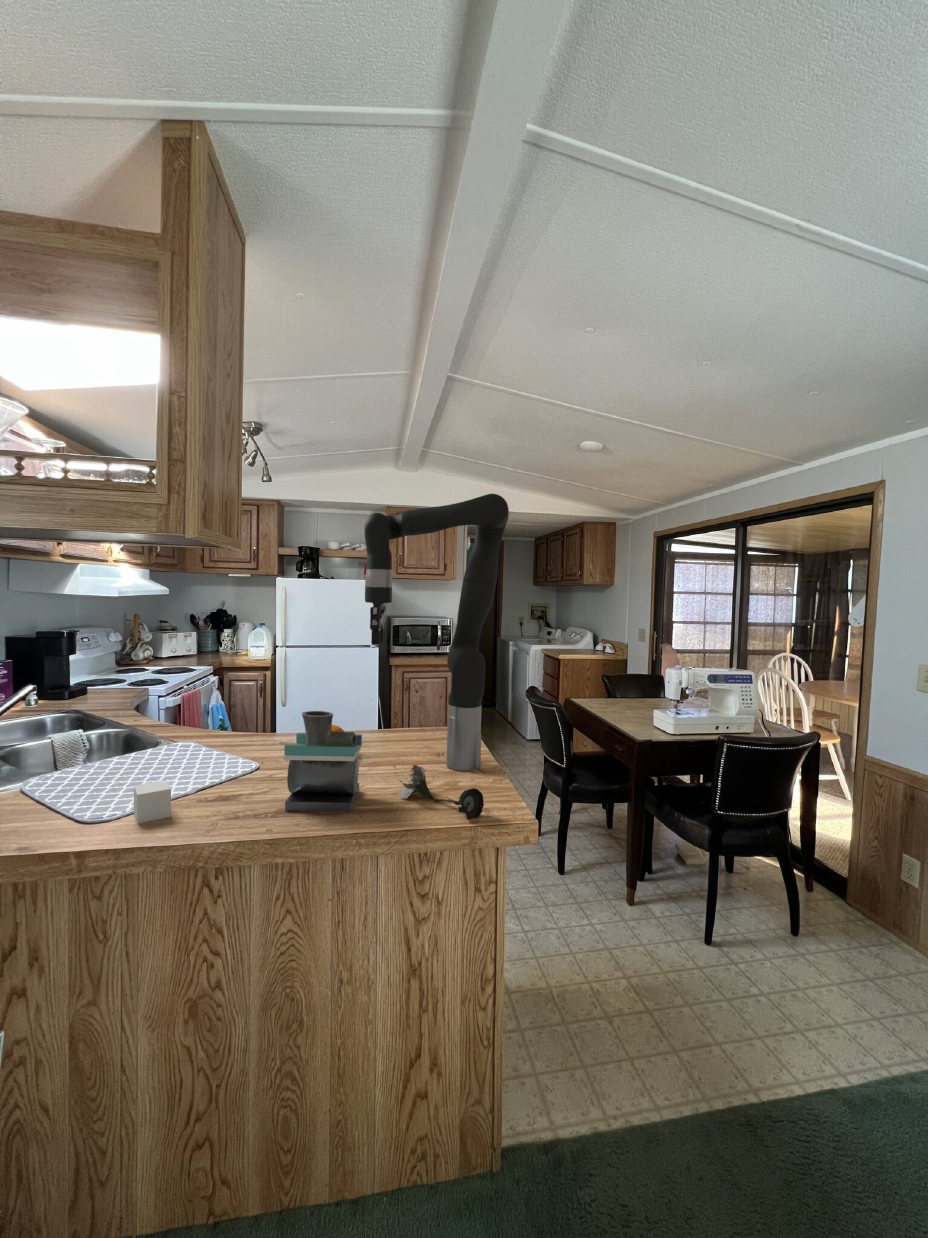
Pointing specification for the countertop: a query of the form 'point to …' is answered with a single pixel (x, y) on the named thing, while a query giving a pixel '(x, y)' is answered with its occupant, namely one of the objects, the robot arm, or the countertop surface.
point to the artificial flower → (468, 799)
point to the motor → (322, 776)
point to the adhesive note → (152, 801)
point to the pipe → (324, 730)
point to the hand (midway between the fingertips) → (377, 643)
